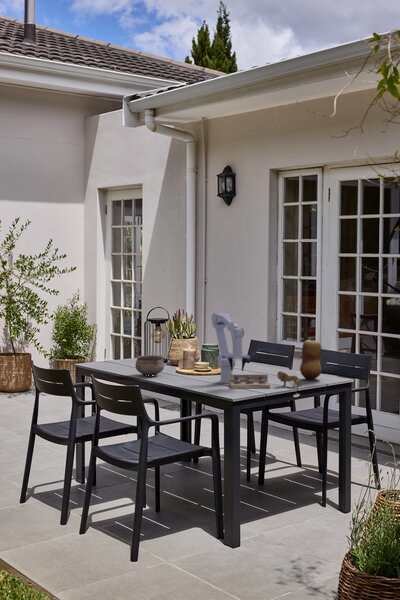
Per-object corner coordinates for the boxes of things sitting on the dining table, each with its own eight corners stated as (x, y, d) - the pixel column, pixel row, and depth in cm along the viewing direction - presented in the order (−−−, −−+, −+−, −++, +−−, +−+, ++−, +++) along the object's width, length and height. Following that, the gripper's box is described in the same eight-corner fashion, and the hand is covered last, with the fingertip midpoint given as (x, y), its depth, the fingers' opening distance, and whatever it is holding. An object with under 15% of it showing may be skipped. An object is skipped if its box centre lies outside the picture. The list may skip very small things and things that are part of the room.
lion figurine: (276, 386, 475) (276, 371, 474) (277, 385, 480) (277, 370, 479) (301, 387, 472) (301, 372, 472) (302, 386, 477) (302, 371, 477)
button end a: (234, 382, 477) (234, 379, 477) (239, 382, 477) (239, 379, 477) (234, 383, 474) (234, 380, 474) (240, 383, 474) (240, 380, 474)
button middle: (246, 382, 478) (246, 379, 477) (252, 382, 478) (252, 379, 478) (247, 383, 474) (247, 380, 474) (253, 383, 474) (253, 380, 474)
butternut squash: (320, 381, 494) (321, 341, 493) (299, 380, 497) (299, 341, 495) (321, 378, 508) (321, 339, 507) (300, 377, 510) (300, 338, 509)
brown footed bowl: (148, 372, 533) (148, 354, 533) (172, 374, 524) (172, 355, 523) (126, 377, 512) (126, 358, 511) (151, 379, 502) (150, 360, 502)
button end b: (258, 382, 478) (258, 379, 478) (264, 382, 478) (264, 379, 478) (259, 383, 474) (259, 380, 474) (265, 383, 474) (265, 380, 474)
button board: (229, 384, 483) (229, 374, 482) (267, 384, 483) (267, 374, 483) (231, 388, 469) (231, 378, 468) (270, 388, 469) (270, 378, 469)
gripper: (225, 348, 470) (225, 371, 471) (250, 348, 471) (250, 371, 471) (224, 347, 477) (224, 370, 478) (248, 347, 478) (248, 369, 478)
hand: (237, 370), depth 475 cm, fingers open, 6 cm apart
